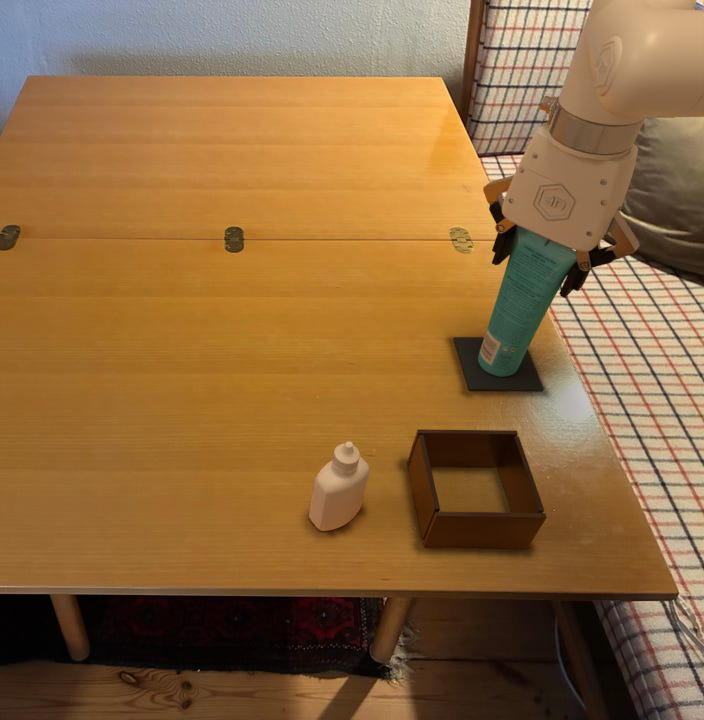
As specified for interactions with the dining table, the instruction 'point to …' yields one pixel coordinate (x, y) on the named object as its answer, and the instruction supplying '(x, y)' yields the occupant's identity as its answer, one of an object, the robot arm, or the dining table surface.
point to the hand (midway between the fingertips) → (533, 273)
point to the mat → (485, 381)
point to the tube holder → (475, 526)
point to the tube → (523, 299)
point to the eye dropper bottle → (339, 488)
